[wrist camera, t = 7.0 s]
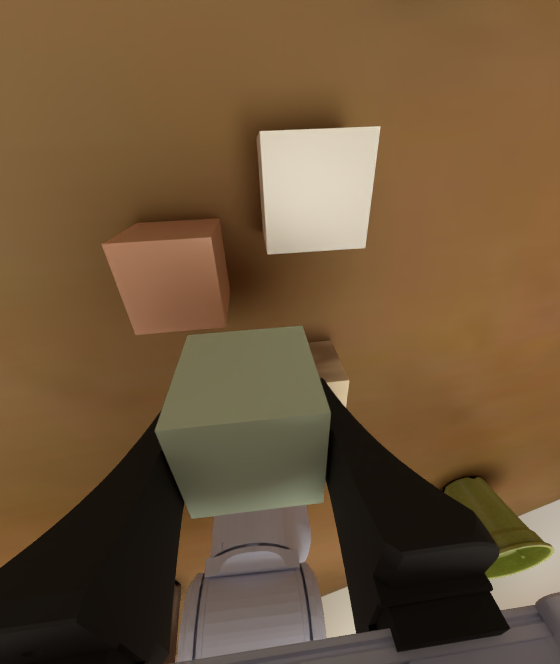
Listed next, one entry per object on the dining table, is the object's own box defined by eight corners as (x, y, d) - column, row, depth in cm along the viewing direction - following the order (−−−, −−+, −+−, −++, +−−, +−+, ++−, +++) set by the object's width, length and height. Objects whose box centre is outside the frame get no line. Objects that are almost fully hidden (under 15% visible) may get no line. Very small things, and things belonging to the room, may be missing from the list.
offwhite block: (344, 134, 16) (380, 126, 11) (338, 227, 18) (365, 247, 14) (256, 138, 15) (259, 131, 11) (262, 231, 18) (267, 254, 14)
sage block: (302, 325, 12) (331, 413, 8) (301, 405, 15) (323, 502, 11) (187, 335, 12) (154, 430, 8) (208, 414, 15) (191, 518, 10)
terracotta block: (219, 218, 17) (210, 237, 13) (230, 291, 20) (225, 327, 16) (137, 222, 17) (101, 244, 13) (159, 296, 20) (135, 334, 15)
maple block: (330, 339, 23) (349, 380, 19) (327, 384, 26) (343, 428, 22) (271, 345, 23) (276, 387, 19) (274, 389, 26) (279, 435, 21)
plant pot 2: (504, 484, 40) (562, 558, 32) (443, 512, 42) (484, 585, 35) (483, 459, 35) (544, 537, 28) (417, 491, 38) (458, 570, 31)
